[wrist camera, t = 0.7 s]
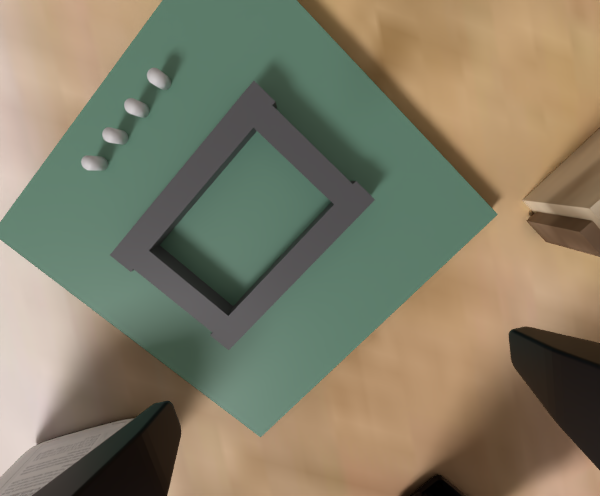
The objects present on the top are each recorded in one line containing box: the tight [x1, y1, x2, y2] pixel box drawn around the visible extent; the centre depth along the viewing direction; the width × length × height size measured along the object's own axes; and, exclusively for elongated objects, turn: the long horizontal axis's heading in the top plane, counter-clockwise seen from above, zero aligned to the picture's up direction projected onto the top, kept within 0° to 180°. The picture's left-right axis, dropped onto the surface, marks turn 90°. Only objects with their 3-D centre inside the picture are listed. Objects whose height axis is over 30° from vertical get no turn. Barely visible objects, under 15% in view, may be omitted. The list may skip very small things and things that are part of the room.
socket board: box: [0, 0, 498, 437], centre depth 20 cm, size 22×22×2 cm
